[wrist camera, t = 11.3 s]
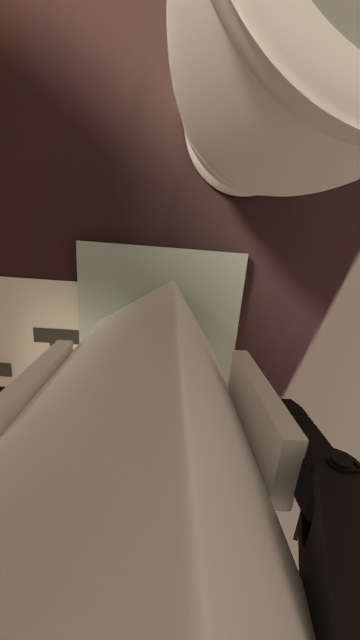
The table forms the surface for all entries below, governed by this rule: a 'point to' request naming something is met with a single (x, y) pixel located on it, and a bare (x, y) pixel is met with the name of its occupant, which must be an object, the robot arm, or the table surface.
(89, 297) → the coaster
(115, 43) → the table surface
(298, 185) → the jar
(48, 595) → the milk
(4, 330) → the tile
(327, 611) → the robot arm
